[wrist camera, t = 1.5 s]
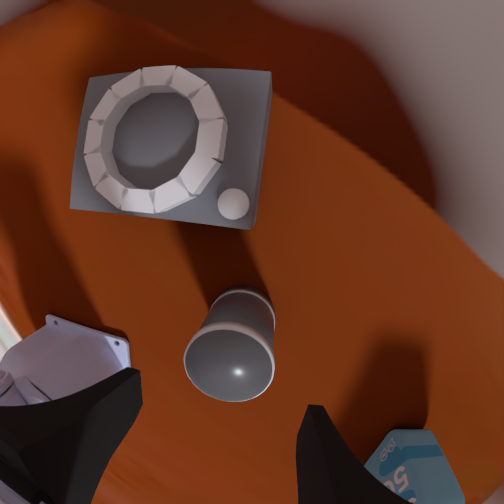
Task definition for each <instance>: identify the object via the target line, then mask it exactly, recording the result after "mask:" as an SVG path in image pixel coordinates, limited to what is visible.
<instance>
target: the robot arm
mask: <svg viewBox="0 0 504 504" xmlns="http://www.w3.org/2000/svg"><path fill="white" fill-rule="evenodd" d="M117 341H118V342H119V344H118V343H117ZM142 404H143V401H142V390H141V377H140V370H137V369H134V368H131V364H130V352H129V343H128V341H127V340H126V339H124V338H122V337H118V336H115V335H111V334H108V333H104V332H101V331H98V330H95V329H92V328H88V327H85V326H82V325H79V324H76V323H73V322H70V321H67V320H65V319H62V318H59V317H56V316H53V315H51V314H48V315H47V316H46V325H45V326H43V327H42V328H40V329H39V330H37V331H36V332H34V333H33V334H31V335H29V336H28V337H26V338H25V339H23V340H22V341H20V342H19V343H17V344H16V345H14V346H13V347H11V348H10V349H9V350H8V351H7V352H6V353H5V355H4V356H3V358H2V360H1V363H0V504H91V501H92V499H93V496H94V493H95V491H96V488H97V486H98V484H99V481H100V479H101V477H102V475H103V472H104V470H105V468H106V466H107V464H108V462H109V460H110V458H111V457H112V455H113V453H114V452H115V450H116V449H117V447H118V446H119V444H120V443H121V441H122V440H123V438H124V437H125V435H126V434H127V432H128V431H129V429H130V428H131V426H132V425H133V423H134V422H135V420H136V418H137V416H138V413H139V411H140V409H141V407H142ZM296 467H297V482H298V504H413V503H411V502H409V501H407V500H405V499H403V498H402V497H400V496H399V495H397V494H396V493H394V492H393V491H391V490H390V489H389V488H387V487H386V486H385V485H384V484H382V483H381V482H380V481H379V480H378V479H376V478H375V477H374V476H373V475H372V474H371V473H370V472H369V471H368V470H367V469H366V468H365V467H364V466H363V465H362V464H361V463H360V461H359V460H358V459H357V458H356V457H355V455H354V454H353V453H352V451H351V450H350V449H349V447H348V446H347V445H346V443H345V442H344V440H343V439H342V437H341V436H340V434H339V432H338V431H337V429H336V428H335V426H334V424H333V422H332V421H331V419H330V417H329V415H328V414H327V412H326V410H325V408H324V407H323V406H321V405H309V404H308V407H307V410H306V413H305V416H304V419H303V421H302V424H301V427H300V429H299V432H298V435H297V444H296Z"/></svg>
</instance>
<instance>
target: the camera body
mask: <svg viewBox="0 0 504 504" xmlns="http://www.w3.org/2000/svg"><path fill="white" fill-rule="evenodd" d="M271 99H272V79H271V72H269V71H258V70H244V69H223V68H181V67H180V66H178V67H177V66H176V65H171V66H155V67H143V69H142V70H141V69H138V70H137V71H135V72H126V73H118V74H111V75H104V76H98V77H92V78H89V82H88V86H87V90H86V94H85V98H84V103H83V108H82V113H81V118H80V124H79V129H78V135H77V142H76V149H75V156H74V165H73V174H72V185H71V199H70V209H79V210H89V211H98V212H107V213H116V214H125V215H134V216H143V217H151V218H160V219H168V220H176V221H184V222H192V223H200V224H208V225H215V226H223V227H231V228H238V229H245V230H251V228H252V227H253V226H254V224H255V222H256V214H257V206H258V198H259V191H260V183H261V175H262V168H263V160H264V152H265V145H266V137H267V129H268V122H269V114H270V106H271Z"/></svg>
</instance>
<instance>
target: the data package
mask: <svg viewBox="0 0 504 504" xmlns="http://www.w3.org/2000/svg"><path fill="white" fill-rule="evenodd" d="M363 466H364V467H365V468H366V469H367V470H368V471H369V472H370V473H371V474H372V475H373V476H374V477H375V478H376V479H378V480H379V481H380V482H381V483H382V484H384V485H385V486H386V487H387V488H389V489H390V490H391V491H393V492H394V493H396V494H397V495H399V496H400V497H402V498H403V499H405V500H407V501H409V502H411V503H413V504H464V503H465V499H464V495H463V493H462V491H461V488H460V486H459V484H458V482H457V480H456V478H455V476H454V474H453V472H452V470H451V468H450V466H449V464H448V462H447V460H446V458H445V456H444V454H443V452H442V450H441V448H440V446H439V444H438V442H437V440H436V438H435V436H434V435H433V433H432V432H431V431H430V430H428V429H415V430H410V429H394V430H392V431H390V432H389V433H388V434H387V436H386V437H385V438H384V440H383V441H382V442H381V444H380V445H379V446H378V448H377V449H376V450H375V452H374V453H373V454H372V456H371V457H370V458H369V459H368V461H367V462H366V463H365V464H364V465H363Z"/></svg>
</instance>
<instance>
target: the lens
mask: <svg viewBox="0 0 504 504" xmlns="http://www.w3.org/2000/svg"><path fill="white" fill-rule="evenodd" d="M274 329H275V314H274V308H273V305H272V303H271V301H270V299H269V298H268V297H267V296H266V295H265V294H264V293H263V292H262V291H260V290H259V289H256V288H254V287H251V286H245V285H239V286H234V287H231V288H228V289H226V290H225V291H223V292H222V293H221V294H220V295H219V296H218V298H217V299H216V300H215V302H214V303H213V305H212V306H211V308H210V311H209V313H208V315H207V317H206V318H205V320H204V322H203V324H202V325H201V327H200V329H199V331H198V332H197V333H196V334H195V335H194V336H193V338H192V339H191V341H190V343H189V344H188V346H187V348H186V351H185V354H184V366H185V370H186V373H187V375H188V377H189V378H190V380H191V381H192V383H193V384H194V385H195V386H196V387H197V388H198V389H199V390H201V391H202V392H203V393H205V394H207V395H208V396H211V397H213V398H216V399H219V400H223V401H229V402H239V401H246V400H249V399H252V398H254V397H256V396H258V395H260V394H261V393H262V392H264V391H265V390H266V389H267V388H268V386H269V385H270V383H271V381H272V379H273V376H274V367H275V359H274V353H273V344H274Z"/></svg>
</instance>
